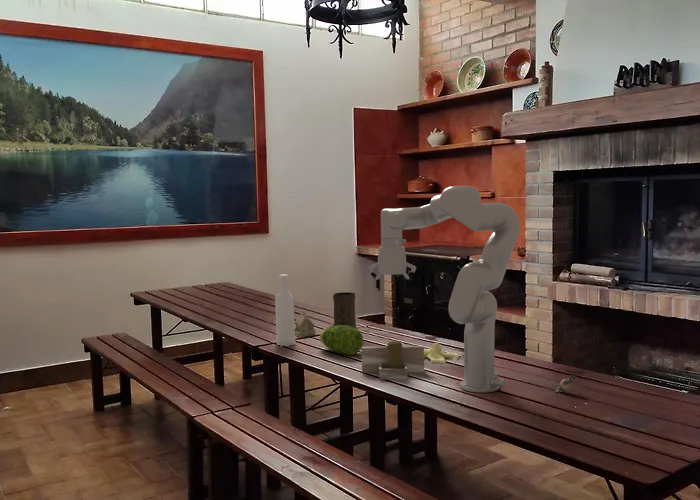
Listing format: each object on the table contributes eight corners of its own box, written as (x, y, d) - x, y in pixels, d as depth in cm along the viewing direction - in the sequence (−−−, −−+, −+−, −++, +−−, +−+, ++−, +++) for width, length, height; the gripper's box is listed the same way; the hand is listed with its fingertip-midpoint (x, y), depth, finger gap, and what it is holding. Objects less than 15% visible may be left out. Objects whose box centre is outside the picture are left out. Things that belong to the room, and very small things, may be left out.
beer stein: (357, 339, 281) (356, 293, 281) (332, 340, 282) (331, 294, 281) (357, 334, 297) (356, 291, 296) (334, 334, 297) (333, 291, 297)
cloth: (432, 349, 262) (432, 335, 262) (470, 357, 249) (470, 341, 248) (395, 360, 247) (395, 344, 247) (433, 368, 234) (433, 352, 233)
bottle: (298, 343, 277) (296, 274, 274) (287, 347, 270) (285, 276, 268) (284, 341, 281) (281, 273, 279) (272, 345, 275) (270, 275, 272)
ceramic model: (289, 332, 301) (289, 311, 301) (313, 330, 305) (312, 309, 304) (296, 338, 288) (295, 316, 287) (320, 336, 291) (319, 314, 290)
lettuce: (333, 345, 271) (332, 319, 270) (367, 353, 256) (367, 325, 255) (312, 350, 264) (311, 323, 263) (346, 359, 249) (345, 330, 248)
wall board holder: (362, 371, 230) (361, 346, 230) (424, 371, 229) (423, 346, 228) (361, 379, 220) (360, 353, 220) (425, 379, 219) (425, 353, 218)
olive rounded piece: (404, 374, 221) (403, 343, 220) (386, 374, 222) (385, 343, 221) (404, 370, 227) (403, 339, 226) (386, 370, 228) (386, 339, 227)
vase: (579, 392, 201) (579, 374, 200) (571, 398, 197) (571, 379, 196) (563, 388, 205) (562, 370, 204) (554, 394, 201) (554, 375, 200)
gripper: (415, 241, 234) (415, 288, 236) (367, 242, 235) (368, 289, 237) (416, 243, 227) (417, 291, 228) (367, 244, 228) (368, 292, 229)
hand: (392, 290), depth 233 cm, fingers open, 9 cm apart
